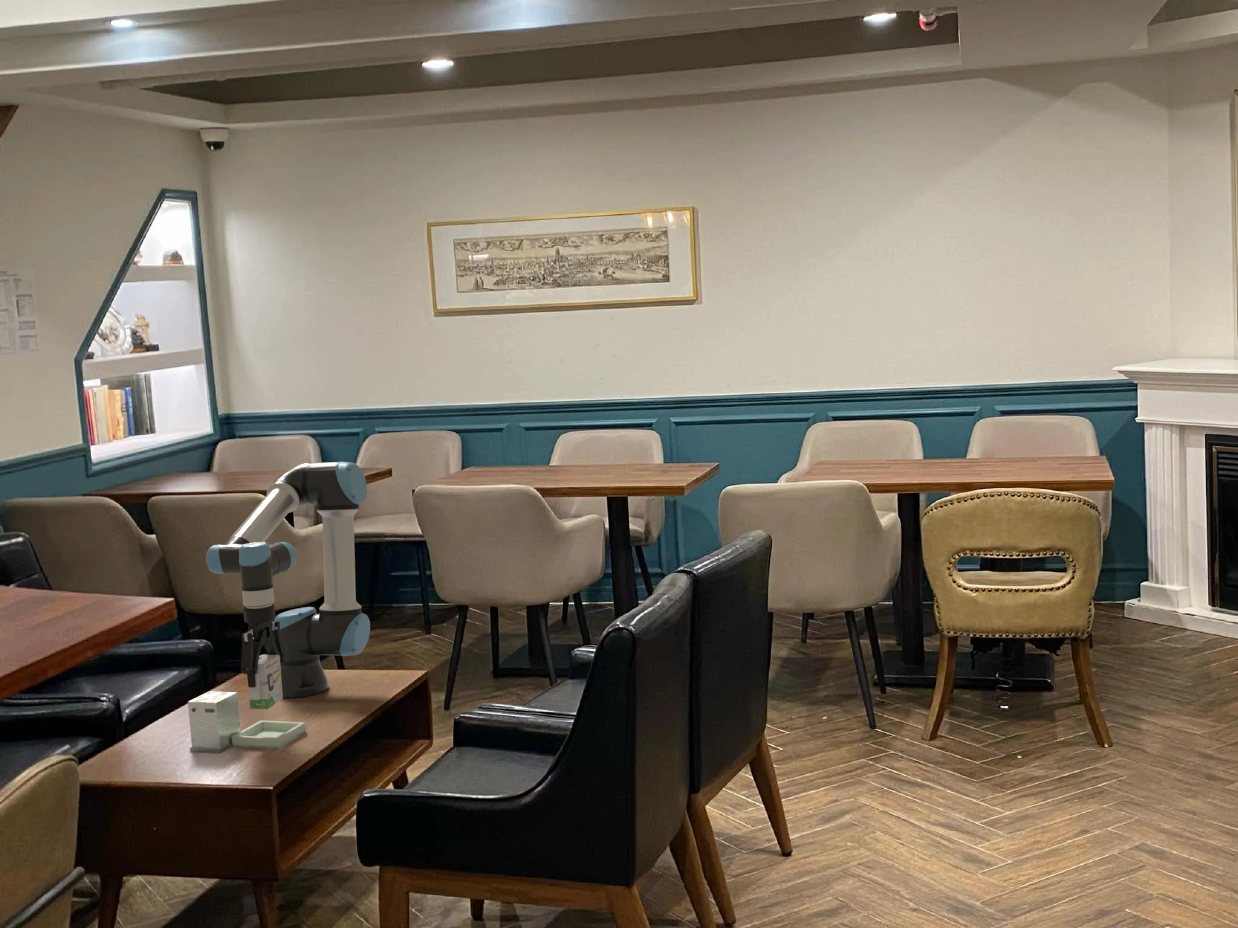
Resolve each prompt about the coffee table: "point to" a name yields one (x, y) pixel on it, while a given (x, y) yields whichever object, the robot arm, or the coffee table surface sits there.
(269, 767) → the coffee table surface
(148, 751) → the coffee table surface
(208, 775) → the coffee table surface
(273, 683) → the ink box
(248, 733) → the tray
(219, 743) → the unit
